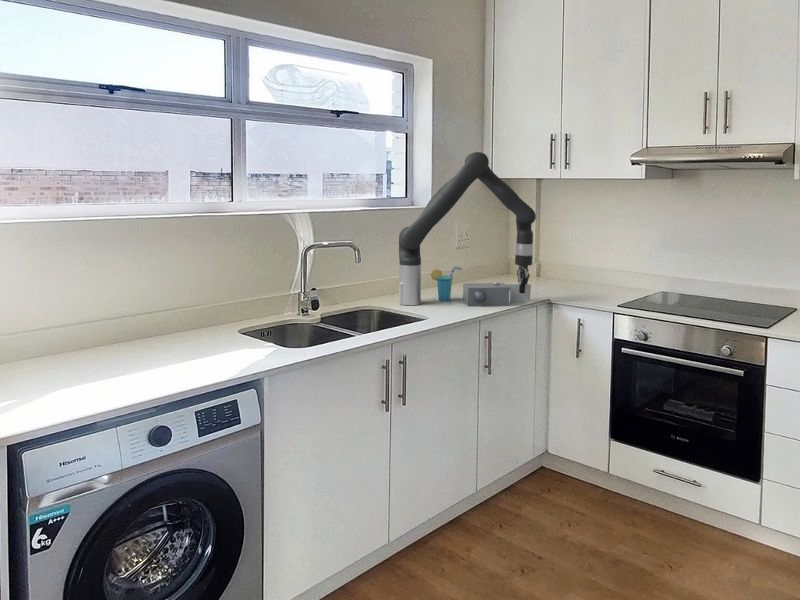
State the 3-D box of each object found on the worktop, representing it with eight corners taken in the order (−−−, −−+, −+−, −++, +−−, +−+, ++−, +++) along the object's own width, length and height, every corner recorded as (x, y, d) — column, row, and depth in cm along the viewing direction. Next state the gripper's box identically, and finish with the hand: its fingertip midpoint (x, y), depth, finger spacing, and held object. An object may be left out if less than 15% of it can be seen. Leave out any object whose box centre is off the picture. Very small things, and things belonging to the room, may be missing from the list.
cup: (458, 298, 313) (458, 265, 310) (464, 301, 305) (464, 267, 302) (428, 299, 309) (429, 266, 306) (433, 302, 302) (434, 268, 299)
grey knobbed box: (468, 307, 291) (469, 286, 290) (462, 301, 305) (463, 281, 303) (510, 306, 293) (511, 286, 291) (503, 300, 306) (503, 281, 305)
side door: (530, 300, 305) (530, 284, 304) (503, 300, 306) (503, 284, 305) (529, 299, 307) (530, 283, 305) (502, 299, 307) (503, 283, 306)
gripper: (511, 252, 305) (510, 290, 308) (519, 255, 292) (517, 295, 295) (528, 252, 306) (526, 290, 309) (536, 255, 293) (534, 295, 296)
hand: (522, 293), depth 302 cm, fingers closed
